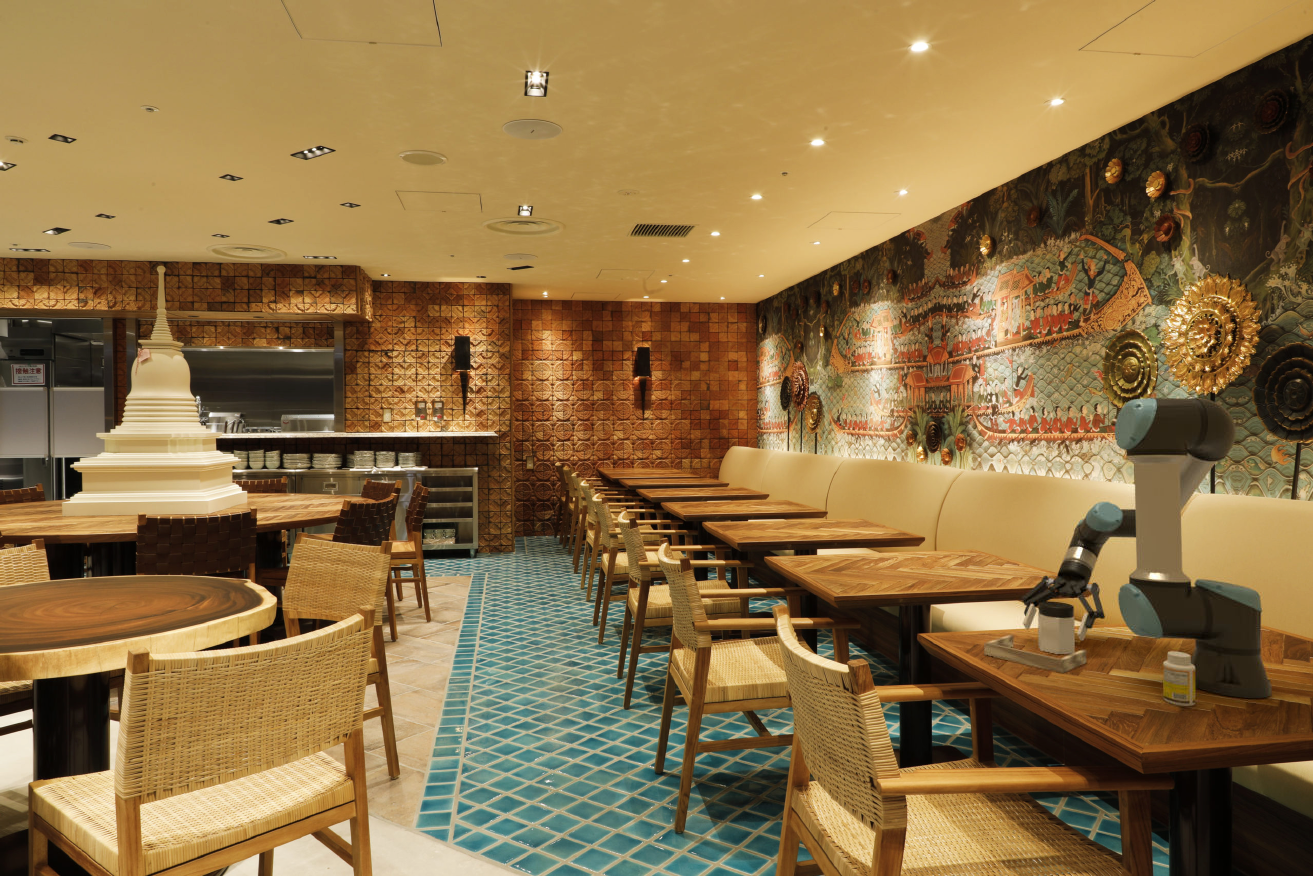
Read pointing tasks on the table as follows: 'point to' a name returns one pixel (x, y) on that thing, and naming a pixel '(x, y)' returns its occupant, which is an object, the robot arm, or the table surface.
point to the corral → (1032, 656)
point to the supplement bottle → (1179, 679)
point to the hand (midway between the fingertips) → (1052, 631)
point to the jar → (1056, 627)
